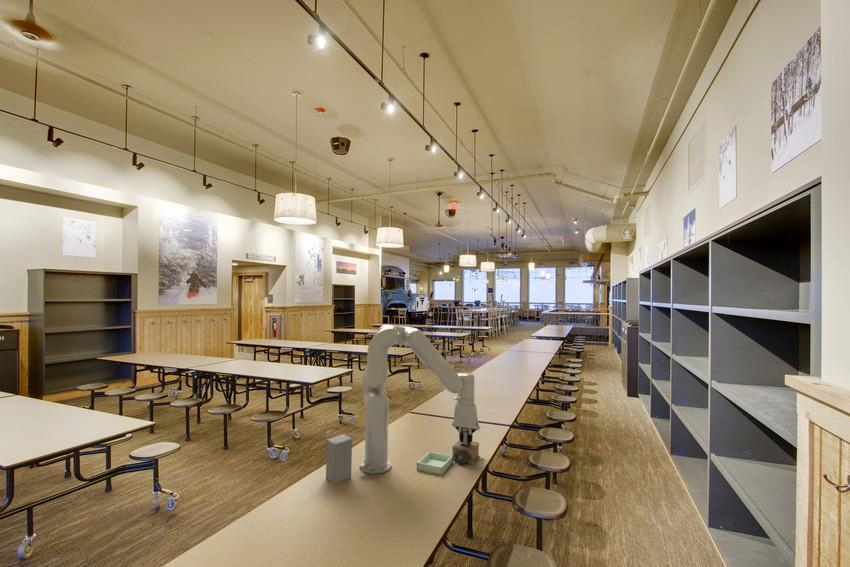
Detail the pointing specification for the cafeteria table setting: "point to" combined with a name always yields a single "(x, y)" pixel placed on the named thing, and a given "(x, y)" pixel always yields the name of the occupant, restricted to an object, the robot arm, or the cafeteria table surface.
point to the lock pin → (465, 436)
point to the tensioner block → (465, 452)
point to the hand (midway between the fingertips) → (465, 441)
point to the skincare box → (338, 458)
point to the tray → (435, 463)
